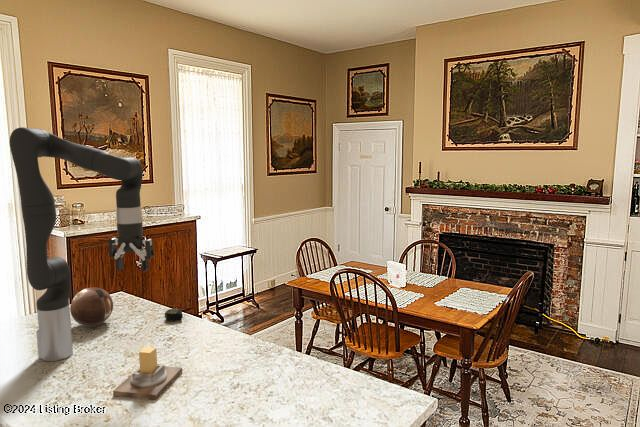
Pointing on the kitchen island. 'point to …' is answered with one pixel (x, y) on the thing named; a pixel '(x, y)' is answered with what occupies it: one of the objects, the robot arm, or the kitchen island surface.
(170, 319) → the tape measure
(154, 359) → the yellow rectangular block
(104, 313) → the wooden sphere
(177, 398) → the kitchen island surface
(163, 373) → the rosette socket
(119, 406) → the kitchen island surface
